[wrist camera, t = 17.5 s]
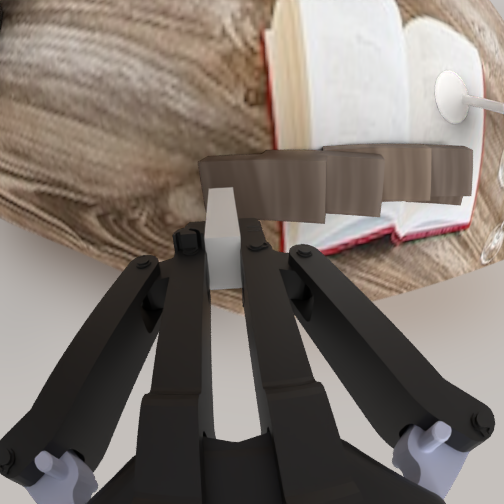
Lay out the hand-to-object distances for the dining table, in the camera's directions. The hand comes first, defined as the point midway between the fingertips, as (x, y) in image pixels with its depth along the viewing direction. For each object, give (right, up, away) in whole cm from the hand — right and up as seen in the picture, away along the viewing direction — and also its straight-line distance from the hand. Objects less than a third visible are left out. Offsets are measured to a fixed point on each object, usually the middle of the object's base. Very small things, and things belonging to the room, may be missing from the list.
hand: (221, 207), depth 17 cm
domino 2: (+3, +3, +6) cm, 8 cm away
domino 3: (+9, +4, +6) cm, 11 cm away
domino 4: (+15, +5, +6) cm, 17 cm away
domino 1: (-2, +3, +6) cm, 7 cm away
